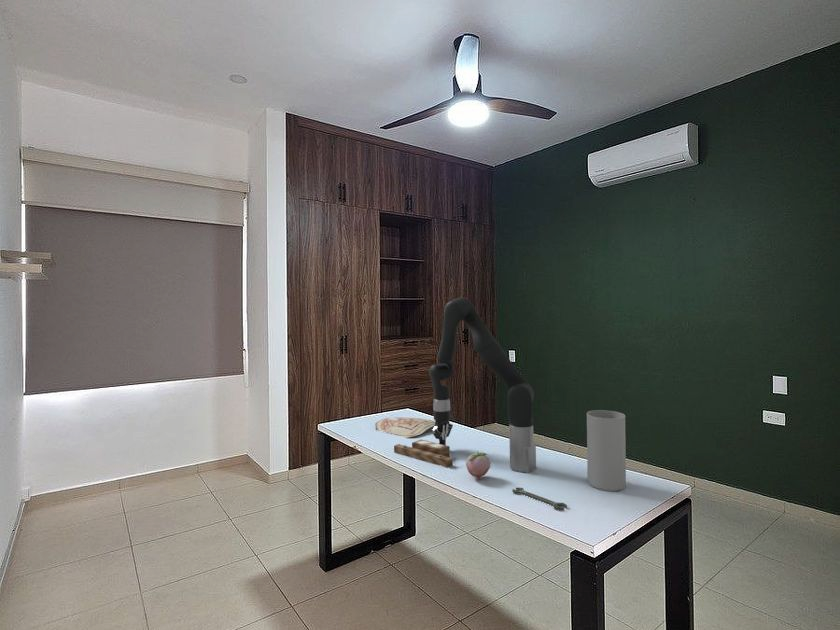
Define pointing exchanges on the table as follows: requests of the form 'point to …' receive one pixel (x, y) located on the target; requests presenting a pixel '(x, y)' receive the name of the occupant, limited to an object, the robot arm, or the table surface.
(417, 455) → the walnut rail
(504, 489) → the table surface
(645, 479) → the table surface
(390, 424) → the poster
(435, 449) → the walnut frame
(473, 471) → the decorative fruit
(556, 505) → the wrench
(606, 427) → the cylinder vase
